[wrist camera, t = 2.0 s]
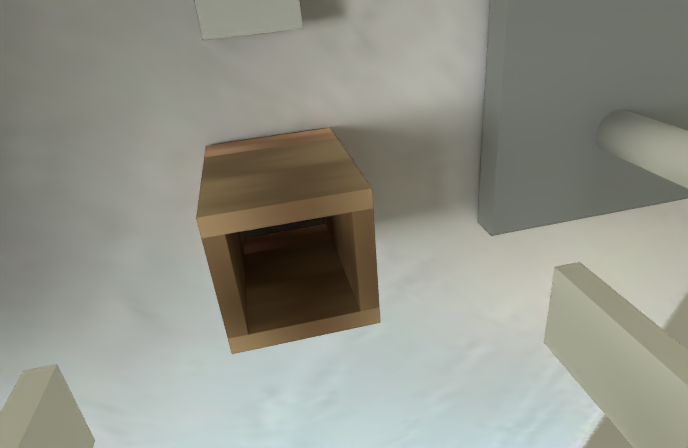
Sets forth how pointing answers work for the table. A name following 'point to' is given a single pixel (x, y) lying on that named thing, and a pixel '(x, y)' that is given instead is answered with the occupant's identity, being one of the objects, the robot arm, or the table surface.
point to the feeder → (246, 17)
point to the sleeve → (288, 238)
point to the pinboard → (582, 110)
